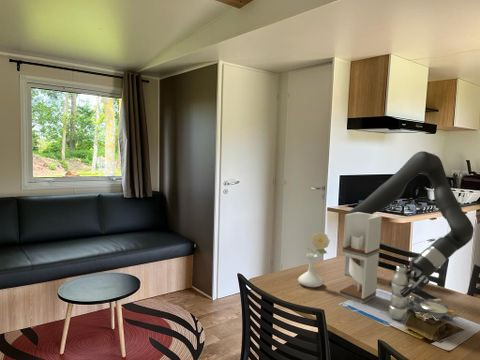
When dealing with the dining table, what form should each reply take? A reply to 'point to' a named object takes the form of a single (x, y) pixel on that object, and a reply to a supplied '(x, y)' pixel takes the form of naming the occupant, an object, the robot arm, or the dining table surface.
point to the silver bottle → (397, 300)
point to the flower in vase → (310, 276)
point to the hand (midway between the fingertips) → (396, 290)
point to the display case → (362, 254)
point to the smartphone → (425, 295)
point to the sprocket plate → (429, 308)
